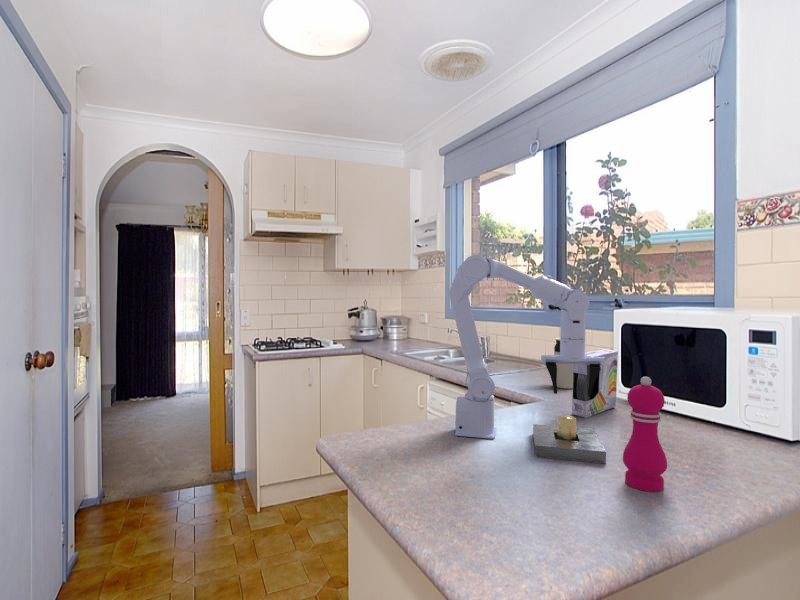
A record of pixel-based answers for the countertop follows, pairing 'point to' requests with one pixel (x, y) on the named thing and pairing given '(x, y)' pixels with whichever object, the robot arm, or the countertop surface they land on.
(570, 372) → the travel mug
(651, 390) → the pepper mill
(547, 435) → the plate
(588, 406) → the cake pan box
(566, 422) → the brass cylinder
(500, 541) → the countertop surface
